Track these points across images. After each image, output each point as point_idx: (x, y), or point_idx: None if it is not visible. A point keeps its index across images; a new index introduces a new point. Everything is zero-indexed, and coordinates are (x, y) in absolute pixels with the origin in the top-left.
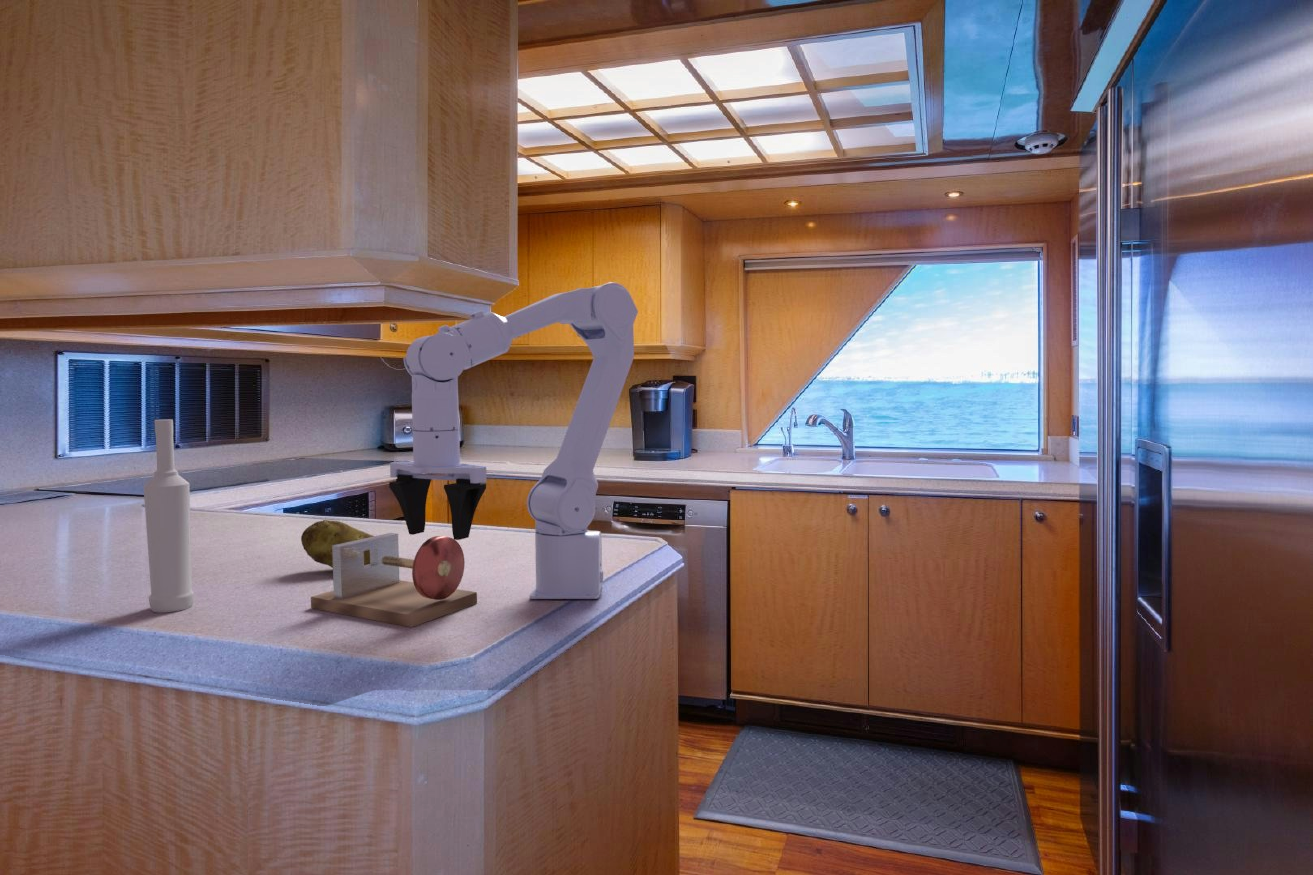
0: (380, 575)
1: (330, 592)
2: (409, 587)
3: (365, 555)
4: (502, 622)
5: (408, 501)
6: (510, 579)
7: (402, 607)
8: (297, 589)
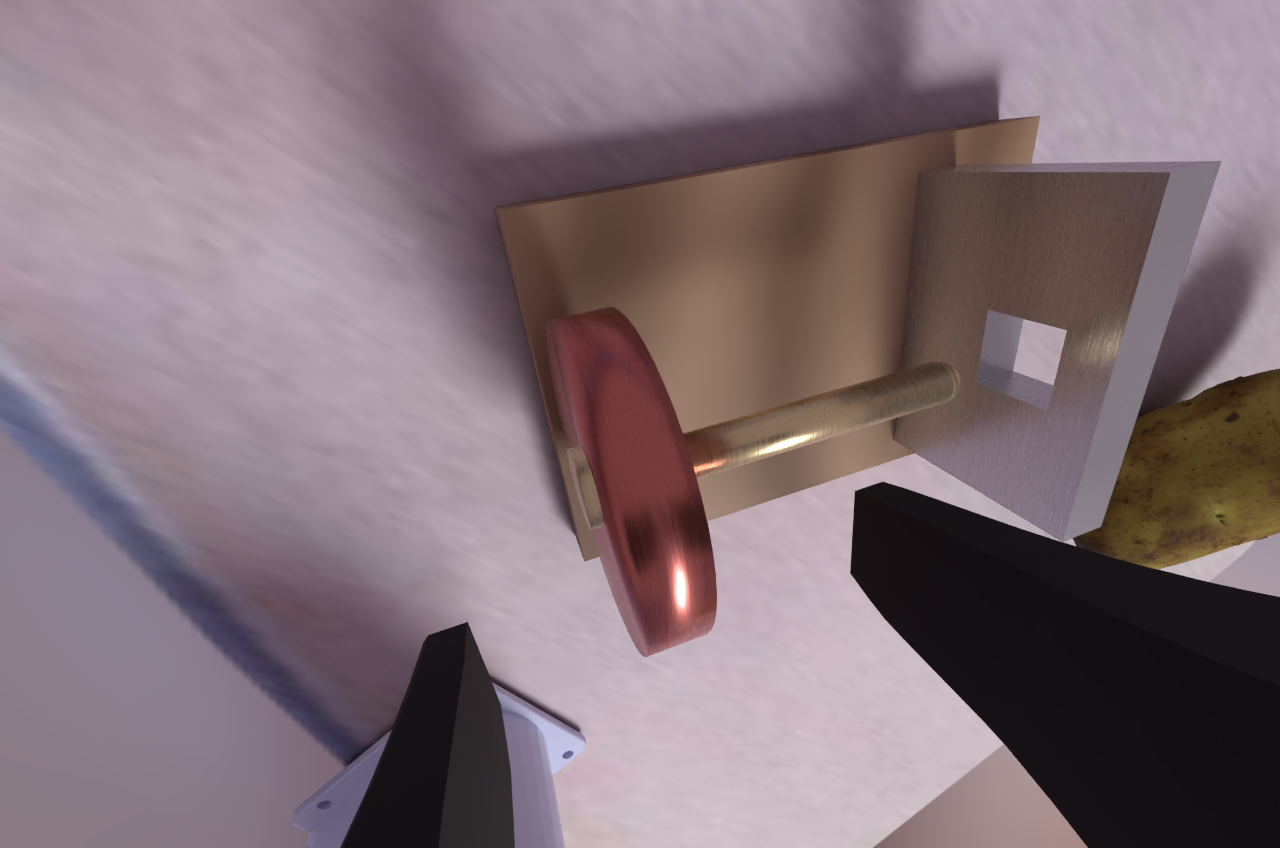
0: None
1: None
2: None
3: (1132, 486)
4: (275, 489)
5: (1132, 660)
6: (703, 702)
7: (636, 263)
8: None
